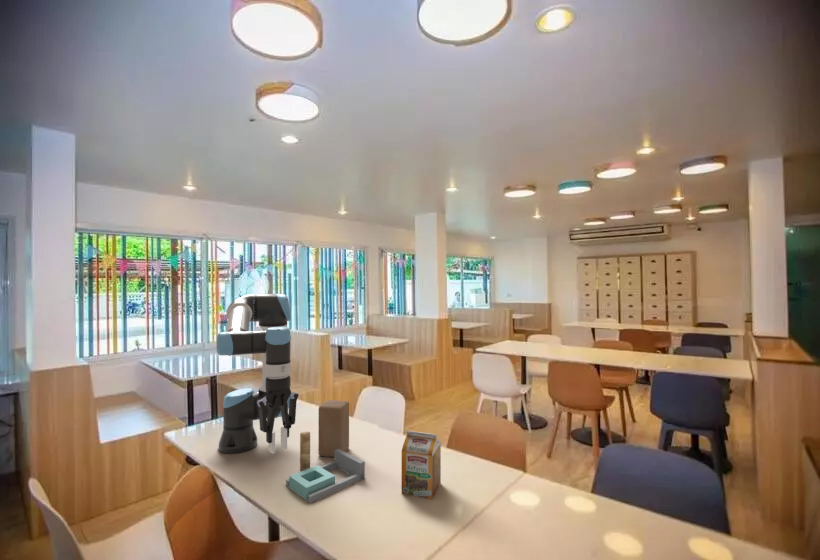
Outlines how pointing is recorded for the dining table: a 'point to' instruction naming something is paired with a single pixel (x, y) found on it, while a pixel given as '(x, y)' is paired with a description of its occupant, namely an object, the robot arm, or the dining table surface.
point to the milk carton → (421, 465)
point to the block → (333, 427)
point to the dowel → (304, 451)
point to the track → (344, 463)
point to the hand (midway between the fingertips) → (277, 450)
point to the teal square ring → (310, 481)
